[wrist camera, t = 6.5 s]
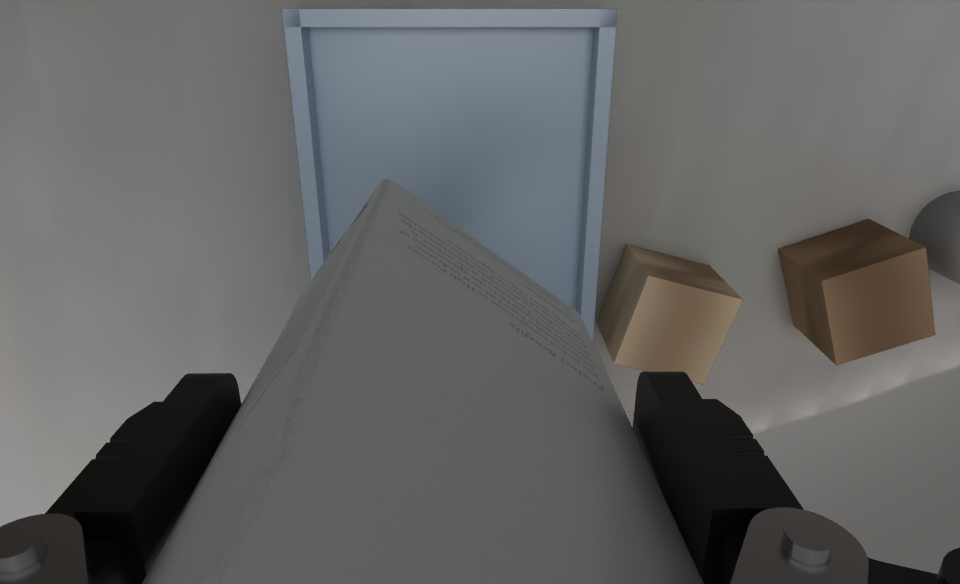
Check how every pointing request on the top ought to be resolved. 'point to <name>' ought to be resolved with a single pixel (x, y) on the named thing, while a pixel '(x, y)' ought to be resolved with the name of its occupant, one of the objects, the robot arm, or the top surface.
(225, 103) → the top surface
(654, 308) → the beech block
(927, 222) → the grey capsule
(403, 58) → the tray
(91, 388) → the top surface
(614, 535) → the skincare box
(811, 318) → the walnut block
